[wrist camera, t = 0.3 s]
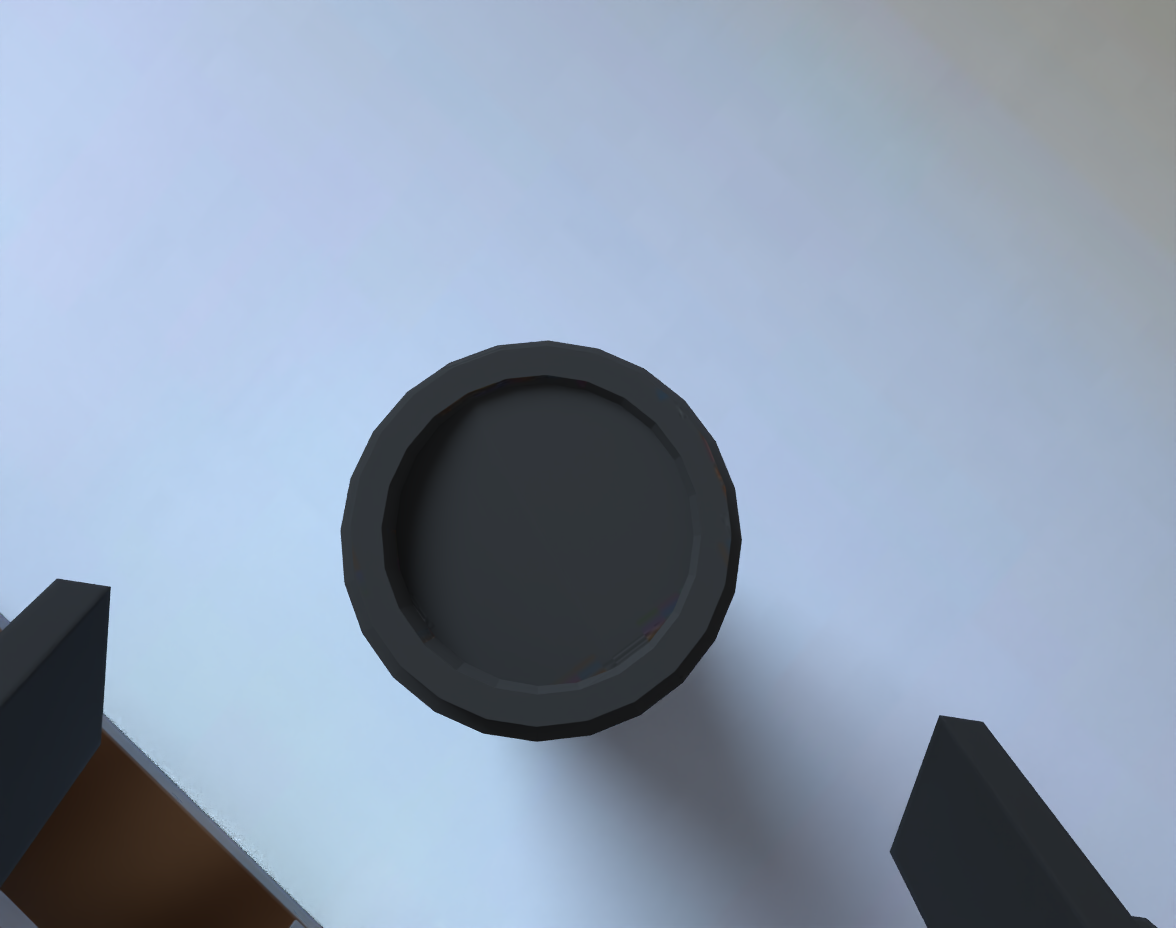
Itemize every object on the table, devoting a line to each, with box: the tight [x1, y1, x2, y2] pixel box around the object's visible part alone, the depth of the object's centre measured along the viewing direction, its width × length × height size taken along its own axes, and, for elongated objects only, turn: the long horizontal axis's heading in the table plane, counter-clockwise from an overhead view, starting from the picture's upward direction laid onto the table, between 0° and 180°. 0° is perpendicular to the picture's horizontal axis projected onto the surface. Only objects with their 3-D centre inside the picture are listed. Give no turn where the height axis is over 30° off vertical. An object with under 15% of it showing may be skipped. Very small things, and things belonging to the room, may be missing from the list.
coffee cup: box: [341, 341, 742, 742], centre depth 26 cm, size 8×8×15 cm
